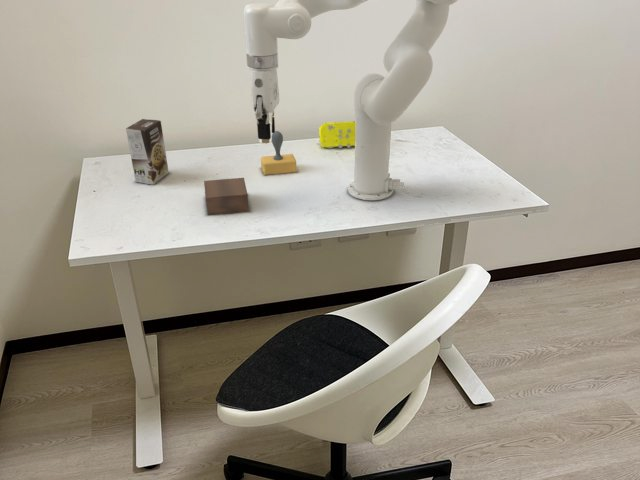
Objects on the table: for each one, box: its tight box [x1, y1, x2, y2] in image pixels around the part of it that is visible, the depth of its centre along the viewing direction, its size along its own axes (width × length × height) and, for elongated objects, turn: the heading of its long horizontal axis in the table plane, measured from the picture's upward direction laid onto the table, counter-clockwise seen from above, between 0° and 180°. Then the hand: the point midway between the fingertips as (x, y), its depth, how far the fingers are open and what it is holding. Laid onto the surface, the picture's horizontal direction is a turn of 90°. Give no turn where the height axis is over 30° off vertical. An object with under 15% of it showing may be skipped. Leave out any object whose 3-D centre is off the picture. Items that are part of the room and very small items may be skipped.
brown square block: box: [203, 177, 250, 216], centre depth 169 cm, size 11×11×5 cm
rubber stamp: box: [260, 130, 298, 176], centre depth 185 cm, size 10×6×12 cm, turn 103°
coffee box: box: [125, 118, 170, 185], centre depth 180 cm, size 9×6×16 cm
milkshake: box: [254, 109, 273, 145], centre depth 158 cm, size 5×5×10 cm
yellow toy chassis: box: [318, 121, 356, 150], centre depth 202 cm, size 16×6×8 cm, turn 97°
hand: (266, 134), depth 160 cm, fingers closed on milkshake, 4 cm apart
